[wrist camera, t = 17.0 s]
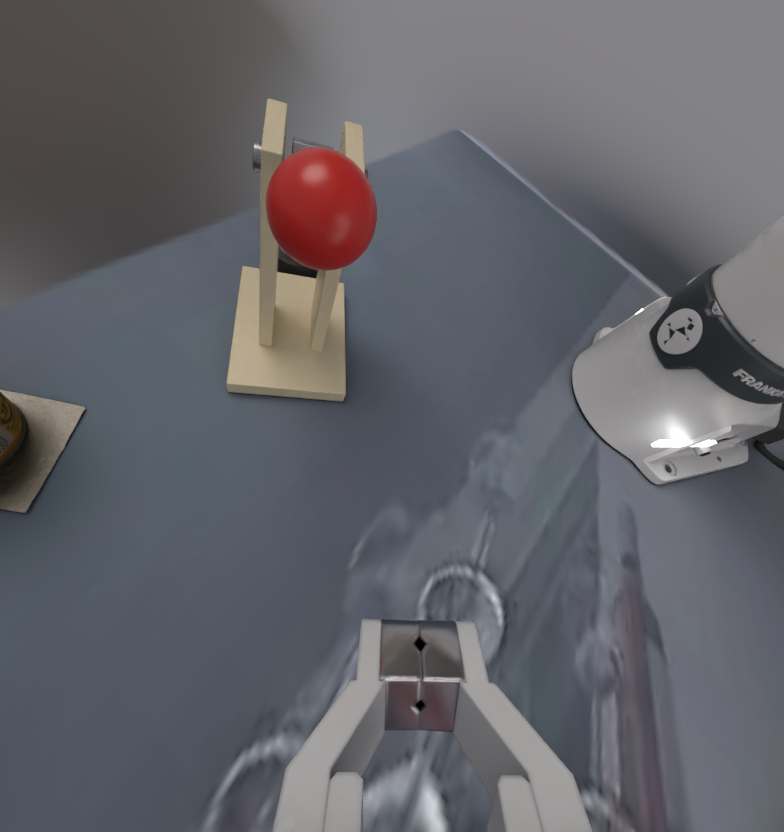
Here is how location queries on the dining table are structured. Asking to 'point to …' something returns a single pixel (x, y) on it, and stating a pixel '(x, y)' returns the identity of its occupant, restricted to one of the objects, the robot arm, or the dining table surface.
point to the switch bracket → (289, 300)
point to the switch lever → (320, 207)
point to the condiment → (30, 444)
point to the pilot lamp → (293, 266)
